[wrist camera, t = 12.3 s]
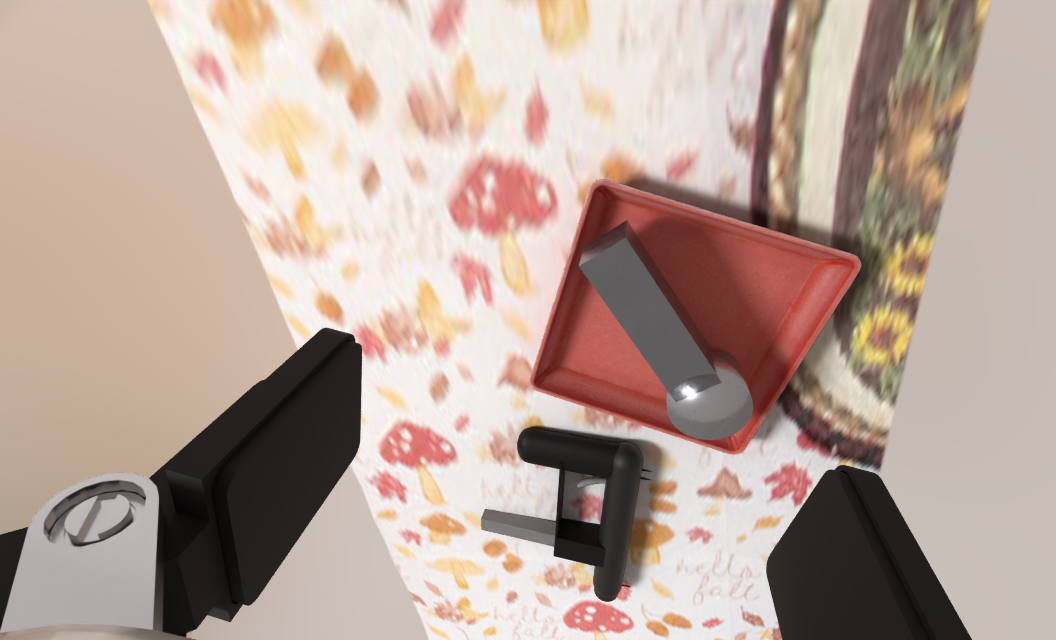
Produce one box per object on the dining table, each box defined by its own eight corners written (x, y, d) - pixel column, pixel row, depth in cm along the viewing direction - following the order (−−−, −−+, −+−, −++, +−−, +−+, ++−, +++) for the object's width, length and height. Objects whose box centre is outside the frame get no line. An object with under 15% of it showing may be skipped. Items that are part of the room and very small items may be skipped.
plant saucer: (533, 368, 45) (526, 390, 42) (596, 165, 36) (592, 176, 33) (733, 431, 44) (740, 458, 41) (849, 241, 35) (868, 258, 32)
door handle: (480, 572, 55) (629, 609, 52) (475, 429, 46) (657, 464, 42) (489, 546, 58) (632, 580, 55) (486, 407, 49) (658, 438, 45)
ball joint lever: (570, 254, 35) (564, 274, 32) (641, 210, 33) (641, 227, 30) (687, 419, 40) (692, 450, 37) (756, 390, 38) (767, 421, 35)
